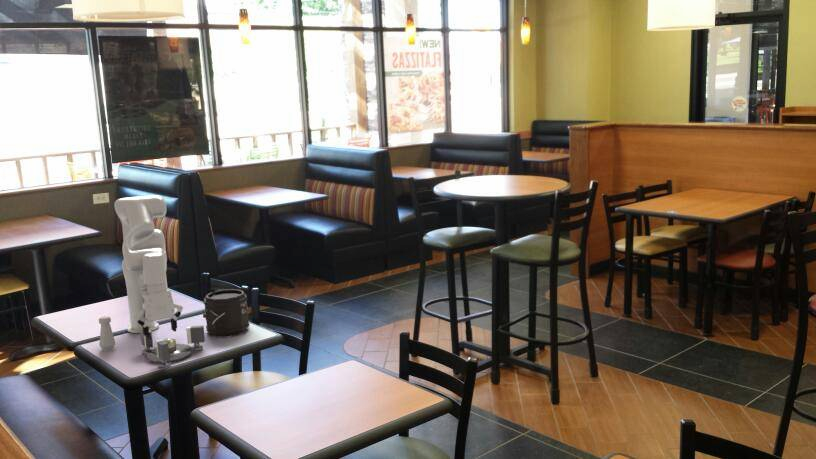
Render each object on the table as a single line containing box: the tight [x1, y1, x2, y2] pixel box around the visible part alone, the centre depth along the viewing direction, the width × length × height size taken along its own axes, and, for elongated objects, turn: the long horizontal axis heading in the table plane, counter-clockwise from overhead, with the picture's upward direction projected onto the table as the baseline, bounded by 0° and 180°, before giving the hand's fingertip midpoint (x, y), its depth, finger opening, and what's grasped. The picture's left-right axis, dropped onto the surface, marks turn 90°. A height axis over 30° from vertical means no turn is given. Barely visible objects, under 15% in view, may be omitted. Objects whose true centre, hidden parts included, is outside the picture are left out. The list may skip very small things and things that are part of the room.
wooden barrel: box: [202, 288, 251, 338], centre depth 301 cm, size 18×18×16 cm
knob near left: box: [185, 324, 206, 347], centre depth 281 cm, size 2×6×8 cm, turn 97°
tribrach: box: [141, 337, 204, 369], centre depth 272 cm, size 21×23×7 cm
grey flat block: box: [139, 329, 154, 351], centre depth 278 cm, size 2×6×8 cm, turn 37°
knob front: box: [155, 338, 170, 364], centre depth 264 cm, size 2×6×8 cm, turn 36°
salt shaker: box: [98, 315, 116, 352], centre depth 285 cm, size 6×6×13 cm
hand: (160, 333), depth 263 cm, fingers open, 9 cm apart
